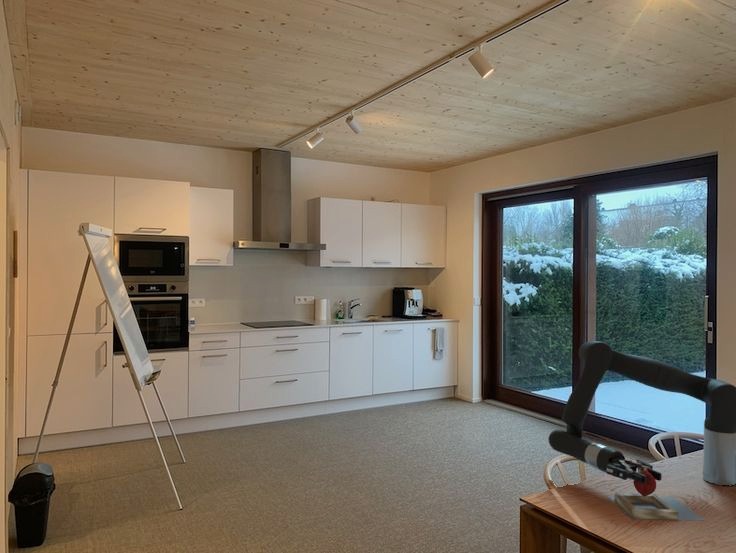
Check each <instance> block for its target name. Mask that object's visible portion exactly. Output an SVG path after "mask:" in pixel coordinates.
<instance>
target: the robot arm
mask: <svg viewBox="0 0 736 553" xmlns="http://www.w3.org/2000/svg"><path fill="white" fill-rule="evenodd" d="M578 357H579V359H580V361H581V362H582V364H584V367H583V371H582V374H581V376H580V378H579V380H578V382H577V384H576V385H575V387H574V388H573V389H572V391H571V393H570V395H569V398H568V399H567V402H566V404H565V407H564V409H563V413H562V415H561V420H562V422H563V423H564V424H565V425H566V431H565V430H562V429H556V430H555V429H554V430H553V431H552V432H550V434H549V435H548V443H549V446H550V447H551V448H552V449H553V450H554V451H557V452H559V453H561V454H564V455H567V456H569V457H573V458H575V459H577V460H578V461H581V462H583V463H585V464H586V465H590V466H591V467H593V468H594V469H597V470H598V471H601V472H603V473H606V475H610V476H612V477H615V478H618V479H621V480H624V481H626V480H629V481H634V480H636V481H638V482H640V483H643V484H646V482H647V477H646V476H645V475H642V474H640V473H639V472H642V471H643V469H644V468H646V469H647V471H648V472H649V473H650V474H651V475H652V476H653V477H654V479H655V481H658V482H659V481H662V479H663V478H662V475H663V474H662V473H661V472H660V471H657V470H654V469H653V468H654V467H653V465H652V464H649V463H648V462H645V461H644V460H641V459H636V460H635V461H633V460H632V459H629V458H625V456H624V454H623V453H622V452H621V451H619V450H617V449H615V448H612V447H609V446H607V445H603V444H601V443H597V442H595V441H591V440H588V439H585V438H583V432H584V431H583V430H584V429H583V428H584V423H585V421H586V418H587V415H588V412H589V409H590V407H591V403H592V401H593V399H594V396H595V394H596V391H597V389H598V387H599V386H600V384H601V381H602V380H603V378H604V376H605V374H606V373H607V371H609V372H612V373H614V374H615V373H616V374H618V375H621V376H623V377H625V378H627V379H630V380H632V381H634V382H636V383H638V384H639V383H640V384H642V385H644V386H647V387H650V388H653V389H657V390H660V391H664V392H670V393H674V394H675V393H677V394H684V395H686V396H689V397H692V398H693V399H696V400H699V401H701V402H702V403H705V404H707V405H708V406H710V411H709V412H710V413H709V417H706V418H705V419H704V421H703V422H704V423H703V426H704V427H703V455H702V462H703V463H702V464H703V465H702V470H703V471H702V479H703V480H704V481H706V482H707V481H708V483H710V484H713V483H714V484H713V485H718V486H722V485H726V486H725V487H732V486H731V485H734V486H735V484H736V386H735V385H734V384H731V383H729V382H726V381H723V380H720V379H715V378H711V377H710V378H709V377H704V376H702V375H701V376H700V375H696V374H694V373H690V372H687V371H685V370H683V369H682V368H679V367H677V366H674V365H672V364H669V363H667V362H663V361H660V360H657V359H654V358H650V357H645V356H641V355H636V354H629V353H624V352H620V351H619V350H615V349H613V348H612V347H611V346H610V345H609V344H608V343H607V342H604V341H599V340H589V341H586V342H584V343H583V344H582V345H581V346H580V347H579V349H578ZM727 485H729V486H727Z"/></svg>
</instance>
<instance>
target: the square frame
mask: <svg viewBox="0 0 736 553" xmlns="http://www.w3.org/2000/svg"><path fill="white" fill-rule="evenodd" d="M614 497H615V501H616V502H617V503H618V504H619V505H620V506H622V507H623V508H624V509H625V510H626V511H627V512H628V513H629V514H630V515H631V516H632V517H633V518H634V519H678V511H676V510H675V509H674V508H673V507H671V506H670V505H669V504H667V503H666V502H665V501H664V500H662V499H661V498H660V497H661V496H658V494H656V493H652V494H650V495H648V496H642V495H641V494H640V493H625V492H623V493H621V492H620V493H618V492H616V493H615V492H614ZM630 502H640V503H654V504H655V505H656V506H657V507H658V508H660V509H637V508H636V507H635V506H633V505H632V504H631V503H630ZM634 519H633V520H634Z"/></svg>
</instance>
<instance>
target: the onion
mask: <svg viewBox="0 0 736 553" xmlns="http://www.w3.org/2000/svg"><path fill="white" fill-rule="evenodd" d="M639 473H640V474H642V475H645V476H646V477H647V482H646V484H643V483H640V482H638V481H636V480H632V481H633V483H632V484H633V486H634V488H635V489H636V491H637V492H638V494H641V495H642V496H648V495H650V494H654V492H655V491H656V488H657V480H655V479H654V477H653V476H652V475H651V474H650V473H649V472H648V471H647V469H646V468H644V469H643V471H642V472H639Z"/></svg>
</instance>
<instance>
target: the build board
mask: <svg viewBox="0 0 736 553" xmlns="http://www.w3.org/2000/svg"><path fill="white" fill-rule="evenodd" d="M659 497H660V498H661V499H662V500H664V501H665V502H666V503H667V504H669V505H670V506H671V507H673V508H674V509H675V510H676V511H678V519H634V518H633V517H632V516H631V515H630V514H629V513H628V512H627V511H626V510H625V509H624V508H623V507H622V506H620V505H619V504H618V503H617V502H616V501H615V495H614V496H610V495H608V496H607V498H608V499H609V500H611V502H613V503H614V504H615V505H616V506H617V508H619V509H620V510H621V511H622V512H623V513H624V514H625V515H626V516H627V517H629V518H630V520H634V521H635V520H641V521H643V520H647V521H697V522H698V521H699V522H700V521H701V522H702V521H704V522H705V519H704V518H702V517H700V515H698V514H697V513H696V512H694V511H693V510H691V508H689V507H687V506H686V505H685V504H684V503H682V502H681V501H680V500H678V499H676V498H675V497H672V496H671V497H669V496H668V497H666V496H665V497H664V496H662V497H661V496H659ZM630 503H631V504H632V505H633V506H635V507H636V508H637V509H660V508H658V507H657V506H656V505H655V504H654V503H640V502H630Z"/></svg>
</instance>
